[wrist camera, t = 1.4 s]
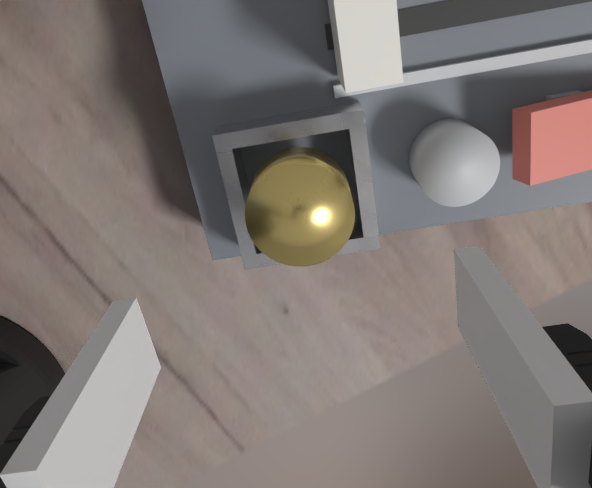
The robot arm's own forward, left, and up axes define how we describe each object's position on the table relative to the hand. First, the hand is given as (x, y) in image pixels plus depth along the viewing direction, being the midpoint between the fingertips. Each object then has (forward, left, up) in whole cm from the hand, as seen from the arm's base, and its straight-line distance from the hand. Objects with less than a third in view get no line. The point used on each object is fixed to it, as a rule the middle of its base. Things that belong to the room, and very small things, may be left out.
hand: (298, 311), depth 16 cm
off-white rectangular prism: (+4, +7, -14) cm, 16 cm away
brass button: (0, 0, -11) cm, 11 cm away
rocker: (+14, +1, -12) cm, 18 cm away
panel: (+6, +4, -18) cm, 19 cm away
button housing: (0, 0, -14) cm, 14 cm away
